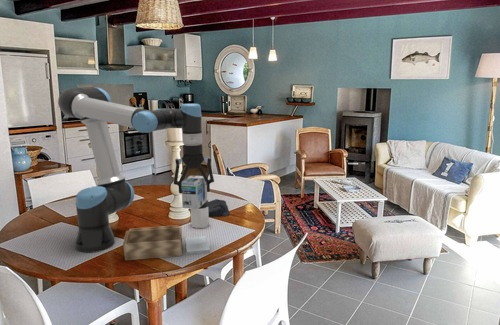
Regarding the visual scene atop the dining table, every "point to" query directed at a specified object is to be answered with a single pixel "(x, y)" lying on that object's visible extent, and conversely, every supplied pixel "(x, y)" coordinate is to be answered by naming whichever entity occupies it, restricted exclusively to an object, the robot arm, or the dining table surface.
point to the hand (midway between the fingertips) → (194, 200)
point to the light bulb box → (193, 192)
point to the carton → (152, 242)
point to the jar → (200, 216)
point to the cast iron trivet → (217, 208)
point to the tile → (197, 245)
